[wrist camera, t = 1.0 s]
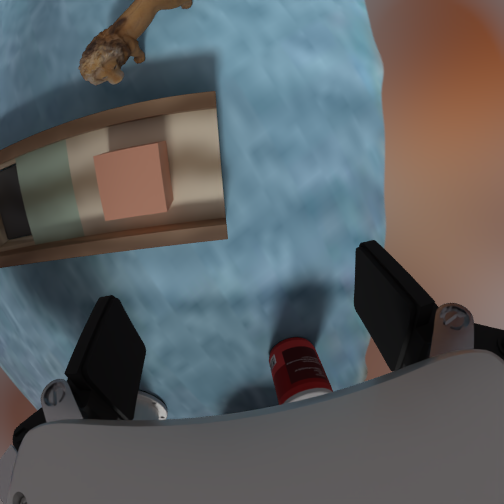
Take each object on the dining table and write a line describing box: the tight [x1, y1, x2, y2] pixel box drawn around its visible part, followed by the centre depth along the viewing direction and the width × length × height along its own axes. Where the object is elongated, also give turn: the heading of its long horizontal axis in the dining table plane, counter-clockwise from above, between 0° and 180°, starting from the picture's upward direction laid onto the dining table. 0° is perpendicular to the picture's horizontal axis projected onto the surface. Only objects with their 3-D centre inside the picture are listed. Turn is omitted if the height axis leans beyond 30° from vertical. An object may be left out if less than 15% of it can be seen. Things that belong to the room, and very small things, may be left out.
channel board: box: [0, 91, 228, 268], centre depth 25 cm, size 14×35×5 cm, turn 93°
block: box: [93, 141, 174, 221], centre depth 23 cm, size 6×6×4 cm
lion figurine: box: [78, 0, 192, 85], centre depth 17 cm, size 15×5×9 cm, turn 151°
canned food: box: [269, 337, 333, 405], centre depth 37 cm, size 8×8×11 cm
